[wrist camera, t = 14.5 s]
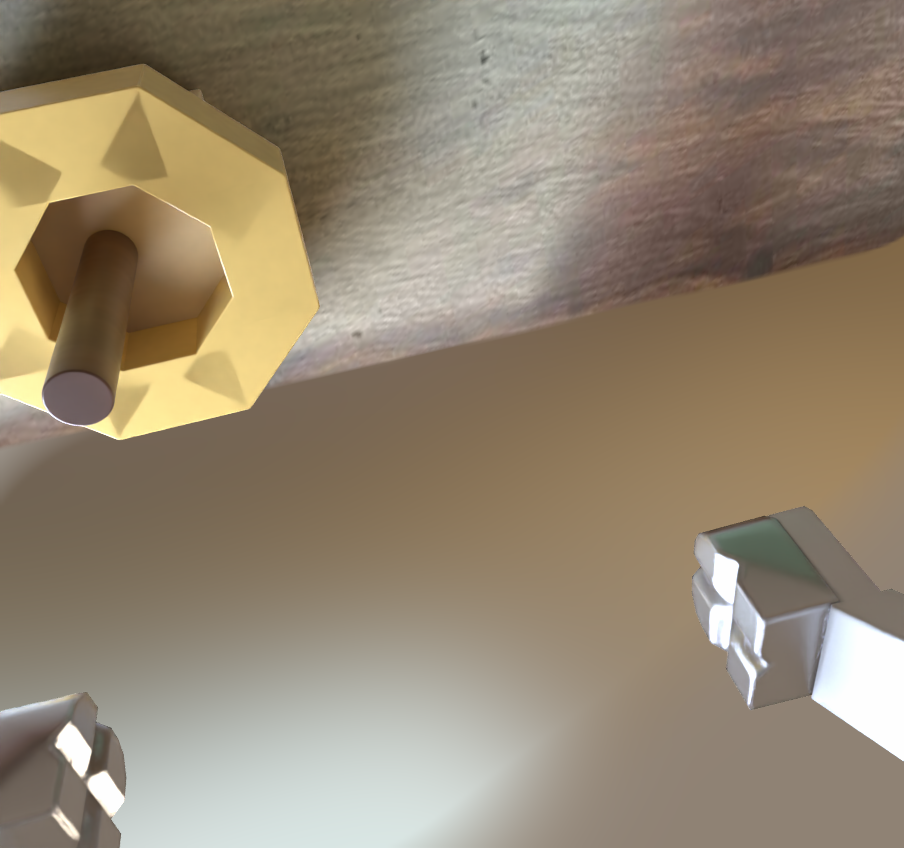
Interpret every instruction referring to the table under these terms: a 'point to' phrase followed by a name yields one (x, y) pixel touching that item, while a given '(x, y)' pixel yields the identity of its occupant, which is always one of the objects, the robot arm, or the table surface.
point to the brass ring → (183, 187)
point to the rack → (116, 287)
